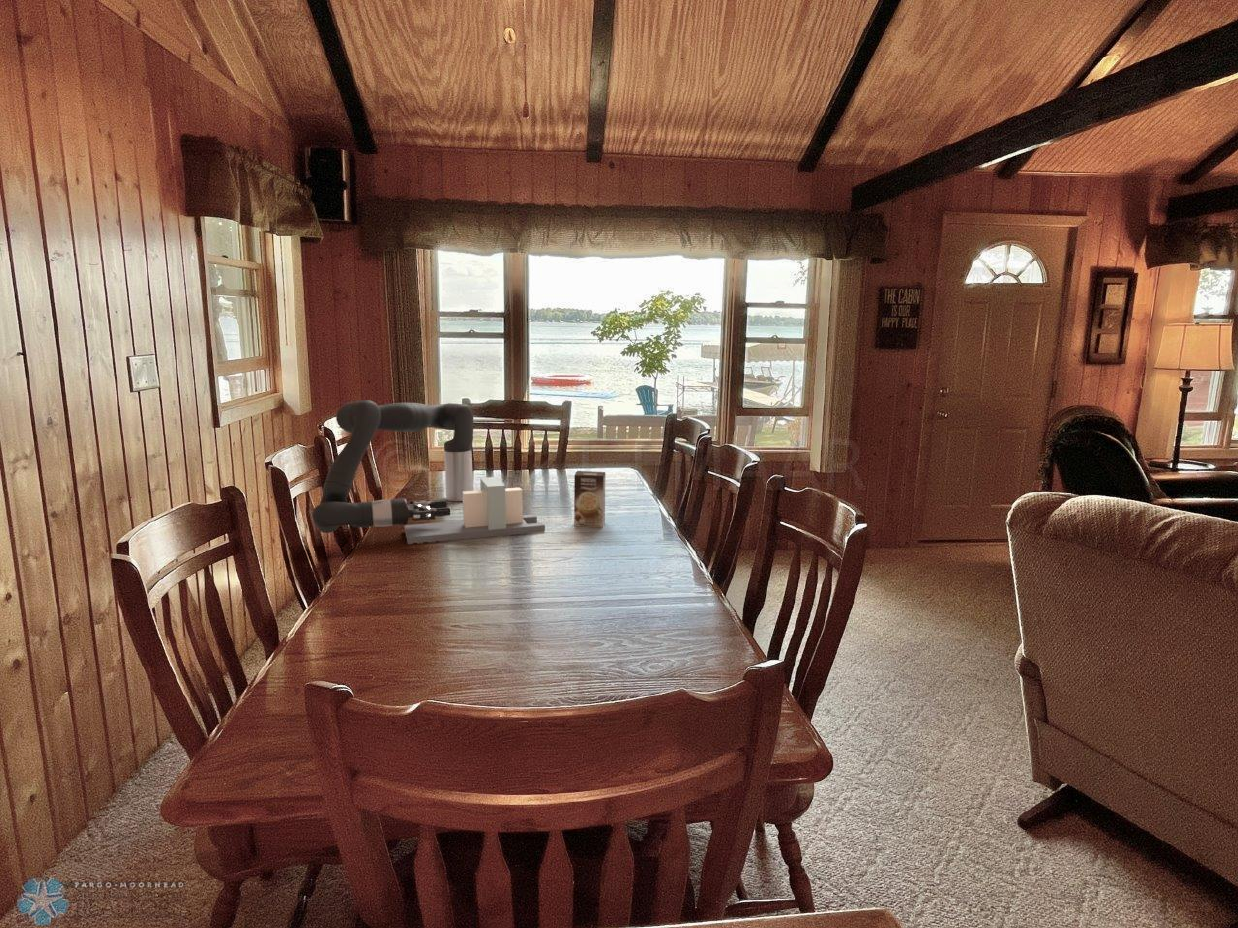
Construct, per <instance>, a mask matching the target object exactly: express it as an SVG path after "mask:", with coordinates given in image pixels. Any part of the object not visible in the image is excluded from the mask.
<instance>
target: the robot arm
mask: <svg viewBox="0 0 1238 928" xmlns="http://www.w3.org/2000/svg"><path fill="white" fill-rule="evenodd" d="M335 419H336V423H337V425H338V426H339V427H340V428H341V430H343V431H344V432H345V433H346V432H347V433H350V434H351V436H350V438H349V440H348V441H347V442H346V444H345V446H344V447H343V448H342V450H341V451H340V452H339V454H338V455H337V456H336V457H335V459H334V460H333V461H332V464H331V465H330V467H329V470H328V472H327V475H326V477H325V481H324V483H323V487H322V496H321V500H320V502H319V504H318V505H316V506H315V507H314V509H313V511H312V520H313V523H314V526H315V528H316V529H317V525H318V529H319V530H318V529H317V530H318V531H319V532H320V533H324V534H329V533H330V534H331V533H333V532H335V531H336V530H337V529H339V527H340V526H341V527H342V526H351V527H354V528H372V527H380V528H381V527H392V526H393V527H394V526H402V525H403V526H404V525H409V524H408V523H409V518H412V521H414V522H419V521H431V520H433V521H434V520H436V518H438V517H447V516H451V508H450V507H448V503H447V501H450V502H463V491H474V490H473V460H472V458H473V456H472V445H473V441H474V413H473V410H472V408H471V407H470V406H469V405H468V404H464V403H463V404H462V403H451V402H449V403H442V404H435V405H428V404H424V403H420V402H406V401H405V402H394V403H387V404H379V405H378V404H377V403H376V402H375V401H373V400H370V399H367V400H366V399H364V400H363V399H362V400H356V401H350V402H347V403H345V404H343V405H342V406H340V407H339V408H338V410H337V412H336V415H335ZM428 428H436V429H441V430H442V429H443V430H447V431H454V432H453V437H452V438H451V439H450V440H447V441H445V442H444V443H443V450H444V451H443V454H444V456H443V457H444V481H445V500H436V501H435V500H431V499H430V498H429V499H428V498H427V499H419V500H410V501H409V504H408V500H407V498H405V497H402V498H386V499H379V500H373V501H363V502H361V501H360V502H348V501H347V500H348V496H349V495H350V493H351V492H350V491H351V489H352V485H353V482H354V480H355V477H356V474H357V471H358V468H359V466H360V464H361V461H362V459H363V458H364V455H365V453H366V451H367V449H368V448H369V445H370V444H371V441H372V440H373V438H374V436H375V434H376V432H377V430H378V431H387V432H388V431H389V432H404V433H409V432H420V431H424V430H426V429H428Z"/></svg>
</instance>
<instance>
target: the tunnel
mask: <svg viewBox="0 0 1238 928" xmlns="http://www.w3.org/2000/svg"><path fill="white" fill-rule="evenodd" d="M479 482H480V483H479V485H480V490H487V503H488V529H489V530H494V529H505V528H506V503H505V488H506V485H505V484H504V483H503V482H502V481H501V480H500V479H499V477H497V476H492V477H480V478H479Z"/></svg>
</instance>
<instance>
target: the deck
mask: <svg viewBox="0 0 1238 928" xmlns="http://www.w3.org/2000/svg"><path fill="white" fill-rule="evenodd" d="M537 519H538V516H537V515H536V514H535V513H534V514H523V523H512V524H506V528H505V529H494V530H489V529H488V526H478V527H467V528H465V526H464V520H463V519H462V520H453V521H451V520H450V521H440V522H431V523H430V522H428V523H415V524H406V525H403V527H404V533H405V534H406V535H405V539H406V538H407V539H406V543H407V545H413V543H417V544H424V543H423V542H428V543H435V542H436V541H439V542H447V541H449V540H450V541H458V540H468V539H481V538H491V537H501V536H511V535H524V534H533V533H543V532H544V531H545V532H546V525H545V524H544V522H538V520H537ZM436 543H437V542H436Z"/></svg>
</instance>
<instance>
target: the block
mask: <svg viewBox="0 0 1238 928" xmlns="http://www.w3.org/2000/svg"><path fill="white" fill-rule="evenodd" d="M505 488H506V487H505ZM523 502H524V501H523V489H522V488H521V487H509V488H508V487H507V488H506V489H505V503H506V524H512V523H523V515H524V514H523V513H524V512H523V511H524V510H523V506H524V504H523ZM462 514H463V516H462V517H463V519H462V520H464V526H465V528H467V527H478V526H488V503H487V490H481V489H478V490H473V491H463V501H462Z"/></svg>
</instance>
